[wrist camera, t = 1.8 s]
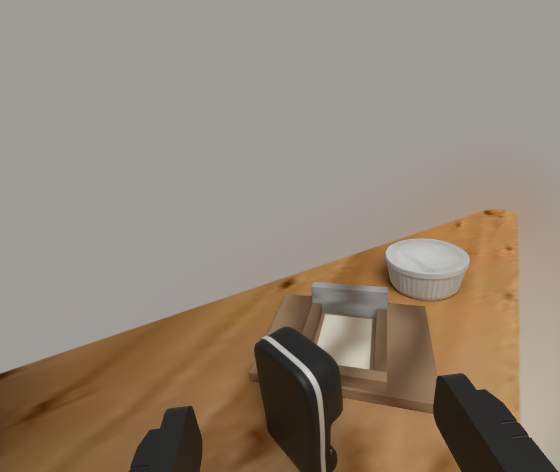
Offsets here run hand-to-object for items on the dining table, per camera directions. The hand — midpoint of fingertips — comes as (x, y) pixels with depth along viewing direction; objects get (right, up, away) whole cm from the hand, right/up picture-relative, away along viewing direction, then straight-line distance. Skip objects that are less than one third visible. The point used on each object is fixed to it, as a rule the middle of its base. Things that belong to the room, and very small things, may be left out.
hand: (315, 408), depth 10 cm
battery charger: (+1, -13, +18) cm, 22 cm away
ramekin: (+21, -2, +38) cm, 44 cm away
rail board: (+7, -8, +28) cm, 30 cm away
